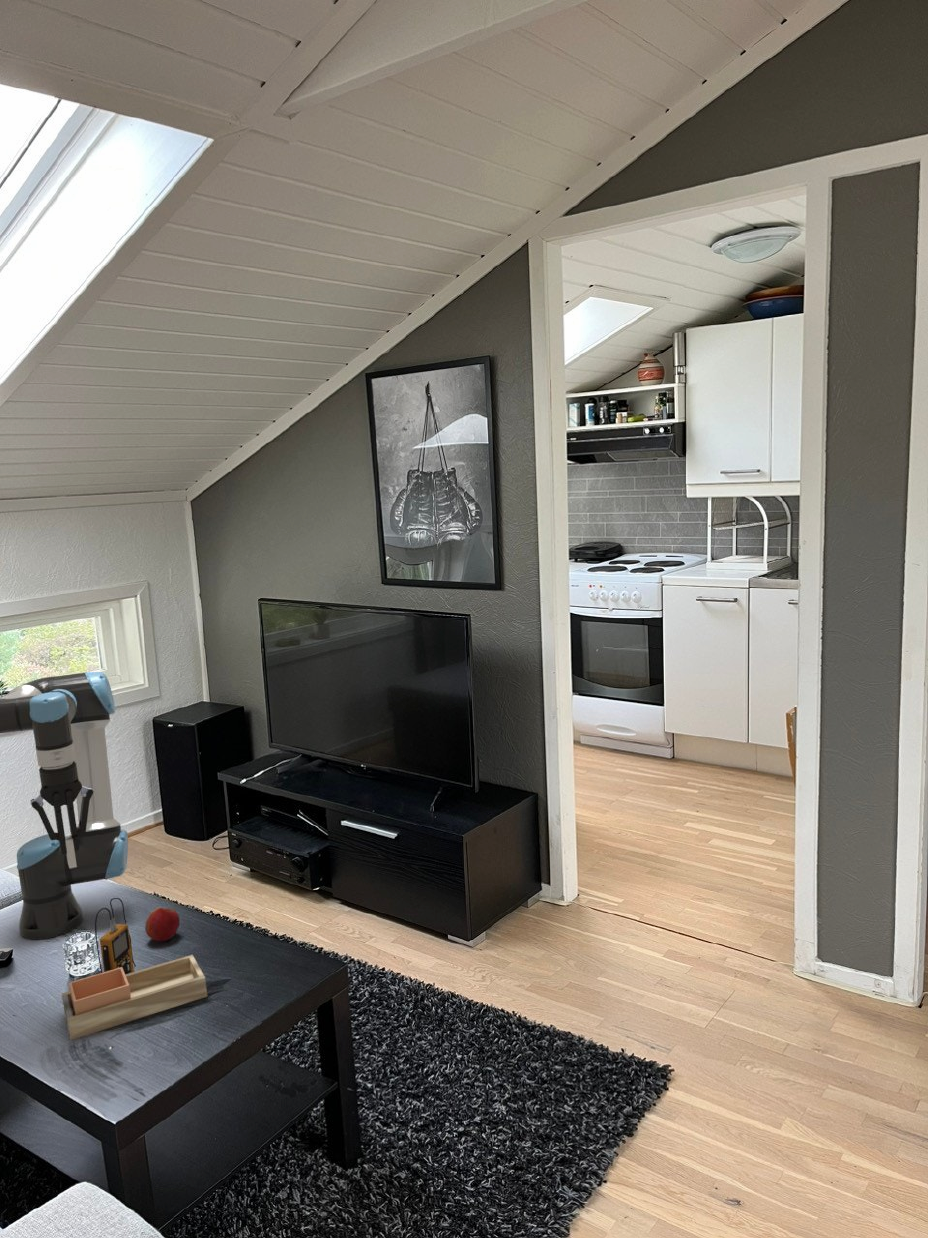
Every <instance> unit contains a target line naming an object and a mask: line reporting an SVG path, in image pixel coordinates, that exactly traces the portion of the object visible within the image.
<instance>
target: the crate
mask: <svg viewBox="0 0 928 1238" xmlns="http://www.w3.org/2000/svg"><path fill="white" fill-rule="evenodd" d="M68 986H69V991H70V994H71V1001H72V1008H73V1012H74V1016H75V1015H78V1014H81V1013H84V1012H88V1011H91V1010H94V1009H97V1008H101V1007H104V1006H107V1005H110V1004H113V1003H117V1002H120V1001H123V1000H126V999H130V998H131V994H130V987H129V983H128V981H127V978H126V975H125V973H124V970H123V968H122V967H120V968H117V969H114V970H110V971H107V972H103V971H102V973H101V972H100V973H97V974H94V975H93V974H92V975H91V976H86V977H84V978H80V979H76V980H74V981H70V982H68Z"/></svg>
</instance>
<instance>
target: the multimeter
mask: <svg viewBox="0 0 928 1238" xmlns="http://www.w3.org/2000/svg"><path fill="white" fill-rule="evenodd" d="M113 900H119V901H120V903H121V905H122V906H121V907H122V912H123V919H124V923H125V924H123V923H122V924H120V923H119V924H118V923H116V921H115V920H116V919H115V916H114V909H113V906H112V901H113ZM109 905H110V908H111V911H110V909H109V908H107V907H102V908H100V909H99V910H98V911H97V913H96V916H95V920H94V921H95V923H94V934H95V944H96V951H97V958H98V962H99V963H98V964H99V968H100V973H103V971H104V972H107V971H110V970H114V969H117V968H120V967H122V968H123V970H124V973H125V975H126V974H129V973H132V972H135V969H134V967H137V965H136V963H135V961H134V956H133V951H132V950H133V948H132V938H131V935H130V930H129V925H128V924H127V919H126V915H125V908H124V907H125V906H124V903H123V900H122V898H119V897H113V898H111V899H110V901H109ZM103 910H107V912H108V914H109V922H110V930H108V931H107V932H106V933H104V935H102V936H101V937H100V938H99V943H98V936H97V934H98V933H97V919H98V916H99V914H100V912H101V911H103ZM111 912H112V913H111ZM98 944H99V945H100V950H99V945H98ZM99 951H100V952H99ZM100 953H101V957H100ZM101 959H102V960H101ZM101 963H102V964H101ZM102 967H103V968H102Z"/></svg>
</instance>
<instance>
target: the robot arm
mask: <svg viewBox="0 0 928 1238" xmlns="http://www.w3.org/2000/svg"><path fill="white" fill-rule="evenodd" d="M115 712H116V707H115V700H114V695H113V691H112V688H111V684H110V682H109V679H108V677H107V675H106V674H105V673H104V672H101V671H88V672H87V671H86V672H80V673H72V674H66V675H55V676H47V677H42V678H36V679H34V680H31V681H28V682H26V683H23V684H21V685H18V686H15V687H13V688H12V689H11V690H10V691H9V692H8V693H7V694H6V695H4V696H2V697H0V735H1V734H8V733H9V734H10V733H15V732H23V731H31V730H32V732H33V737H34V744H35V745H34V746H35V751H36V752H35V753H36V759H37V764H38V767H40V768H39V769H38V772H39V779H40V784H41V786H40V790H39V795H37V796H36V797H35V798H32V799H30V805H31V807H32V808H33V809H34V811H36V812H37V813H38V815H39V818H40V819H41V821H42V824H43V826H44V828H45V830H46V831H45V832H46V833H47V834H44V835H40V836H37V837H35V838H33V839H30V840H29V841H27V842H25V843H24V844H22V845H21V846H20V847H19V848H18V850H17V853H16V863H17V865H16V868H17V872H18V877H19V883H20V890H21V896H22V897H21V898H22V909H21V913H20V920H19V923H18V926H19V927H18V929H19V933H20V936H21V937H22V938H25V939H27V940H28V939H29V940H46V939H49V938H51V939H52V938H54V937H58V936H60V935H64V934H66V933H69V932H71V931H72V930H74V929H76V928H77V927H78V926H79V925H80V924H81V923H82V922H83V919H84V915H83V910H82V907H81V905H80V904H79V901H78V900H77V899H76V896H75V895H74V893H73V890H72V885H77V884H85V883H90V882H91V883H92V882H97V881H101V880H105V881H107V880H110V879H113V878H118V877H120V876H122V875H124V873H125V872H126V869H127V866H128V865H127V864H128V854H129V839H128V836H129V835H128V831H127V830H124V829H121V823H120V822H119V821H117V820H116V819H115V818H114V810H113V809H114V808H113V802H112V801H113V798H112V797H113V796H112V788H111V779H110V768H109V760H108V749H107V739H106V727H107V725H108V724H109V723H110V722H111V718H110V715H113V714H115ZM43 800H44V801H46V802H47V803H48V804H49V805H50V806H52V807H53V811H54V817H55V824H56V831H57V832H55V830H54V829H53V827H52V824H51V822H50V820H49V818H48V815H47V813H46V811H45V809H44V801H43ZM74 802H76V809H77V818H78V819H77V820H76V814H75V805H74ZM63 806H66V811H67V819H68V824H69V831H70V835H65V834H66V833H65V827H64V821H63V820H64V819H63V813H62V807H63ZM77 821H78V824H77Z"/></svg>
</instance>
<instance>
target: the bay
mask: <svg viewBox="0 0 928 1238" xmlns="http://www.w3.org/2000/svg"><path fill="white" fill-rule="evenodd" d="M126 978H127V981H128V983H129V987H130V994H131V998H130V999H126V1000H123V1001H120V1002H117V1003H113V1004H110V1005H107V1006H104V1007H101V1008H97V1009H94V1010H91V1011H88V1012H84V1013H81V1014H78V1015H75V1016H74V1012H73V1008H72V1001H71V994H70V990H69V991H65V992H63V993H61V999H62V1005H63V1013H64V1016H65V1021H66V1025H67V1029H68V1033H69V1037H70V1038H69V1039H70V1041H72V1040H75V1039H79V1038H82V1037H85V1036H88V1035H92V1034H94V1033H98V1032H101V1031H103V1030H107V1029H110V1028H113V1027H116V1026H120V1025H122V1024H126V1023H128V1022H129V1023H130V1022H132V1021H136V1020H139V1019H142V1018H145V1017H148V1016H150V1015H151V1016H152V1015H154V1014H156V1013H161V1012H164V1011H166V1010H170V1009H172V1008H176V1007H179V1006H182V1005H185V1004H188V1003H192V1002H194V1001H197V1000H198V1001H199V1000H201V999H203V998H207V997H208V991H207V990H208V989H207V982H206V976H205V974H204V972H203V971H202V969H201V967H200V965H199V964H198V962H197V960H196V958H195V957H194V955H193V954H190V955H186V956H183V957H180V958H176V959H174V960H170V961H166V962H163V963H159V964H156V965H153V966H149V967H146V968H143V969H139V970H136V971H134V972H132V973H129V974H126Z"/></svg>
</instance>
